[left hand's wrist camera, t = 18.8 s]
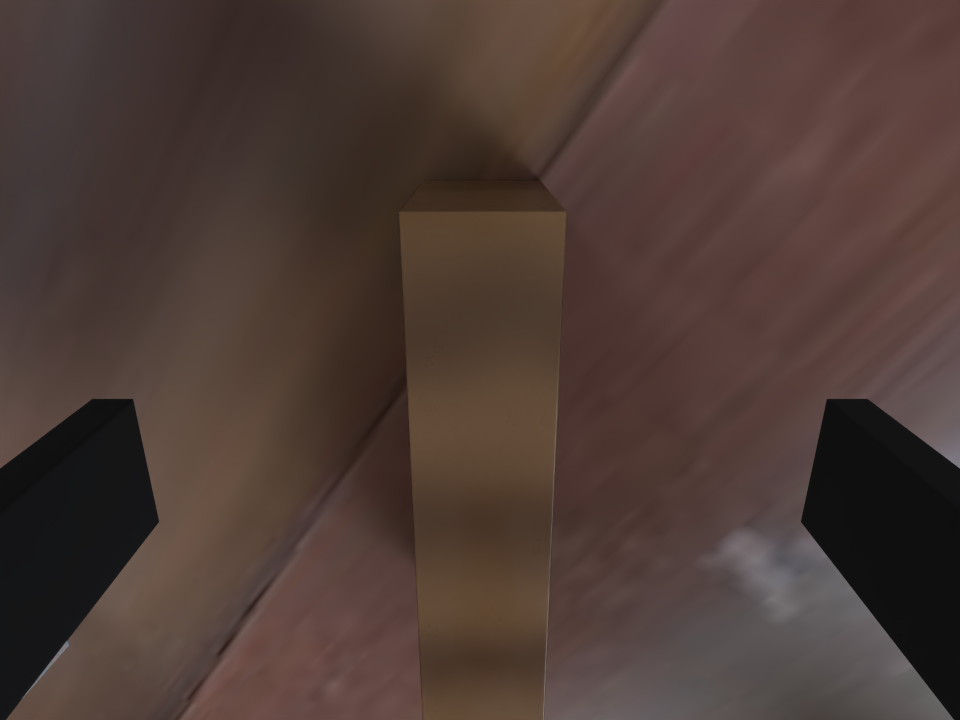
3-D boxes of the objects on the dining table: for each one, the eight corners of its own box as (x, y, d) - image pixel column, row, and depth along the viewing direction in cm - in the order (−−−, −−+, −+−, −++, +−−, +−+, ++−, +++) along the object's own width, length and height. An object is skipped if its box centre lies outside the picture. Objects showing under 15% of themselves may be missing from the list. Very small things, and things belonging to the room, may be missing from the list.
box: (423, 180, 34) (398, 211, 24) (540, 180, 34) (566, 211, 24) (436, 583, 43) (422, 731, 33) (528, 582, 43) (543, 731, 33)
